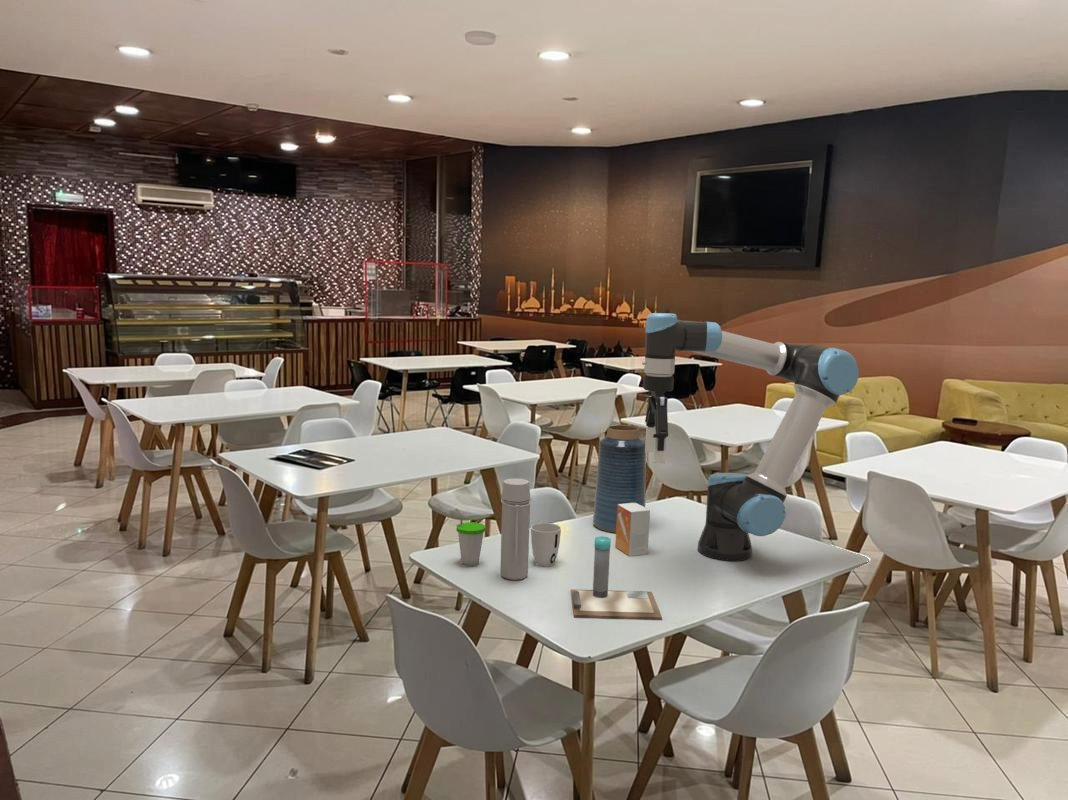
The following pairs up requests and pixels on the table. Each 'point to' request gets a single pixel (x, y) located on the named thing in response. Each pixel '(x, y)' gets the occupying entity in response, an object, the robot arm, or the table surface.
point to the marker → (601, 567)
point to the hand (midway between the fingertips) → (654, 457)
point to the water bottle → (515, 528)
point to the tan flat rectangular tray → (615, 605)
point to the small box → (632, 529)
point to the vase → (619, 474)
